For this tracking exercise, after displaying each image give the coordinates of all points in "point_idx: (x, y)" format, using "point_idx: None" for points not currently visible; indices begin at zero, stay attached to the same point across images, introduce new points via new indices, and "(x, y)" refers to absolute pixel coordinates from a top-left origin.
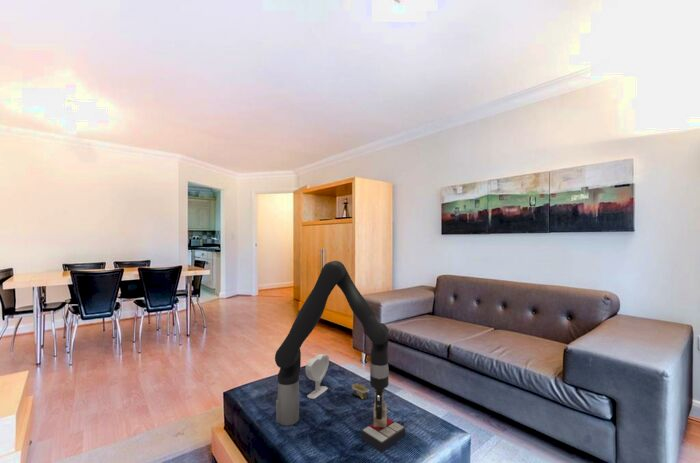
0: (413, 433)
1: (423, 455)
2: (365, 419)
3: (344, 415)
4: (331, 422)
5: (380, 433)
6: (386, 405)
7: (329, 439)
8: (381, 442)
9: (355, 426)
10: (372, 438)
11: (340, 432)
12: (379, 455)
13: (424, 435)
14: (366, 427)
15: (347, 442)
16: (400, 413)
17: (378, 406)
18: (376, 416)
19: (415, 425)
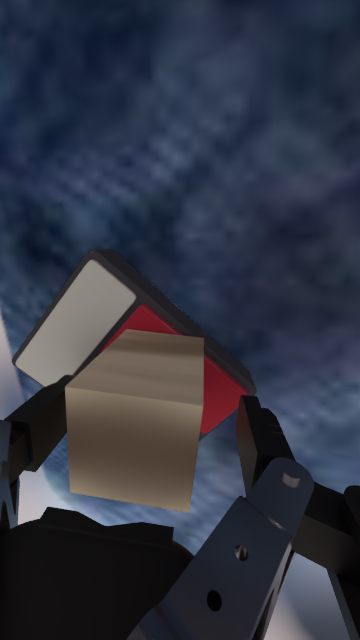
0: None
1: (55, 481)
2: (287, 269)
3: (348, 106)
4: (259, 3)
5: (79, 361)
6: (165, 501)
7: (71, 38)
8: (16, 361)
9: (214, 208)
10: (42, 316)
11: (148, 109)
12: (16, 335)
13: (164, 509)
14: (118, 283)
15: (67, 172)
16: (333, 455)
17: (124, 437)
18: (54, 384)
19: (229, 495)
